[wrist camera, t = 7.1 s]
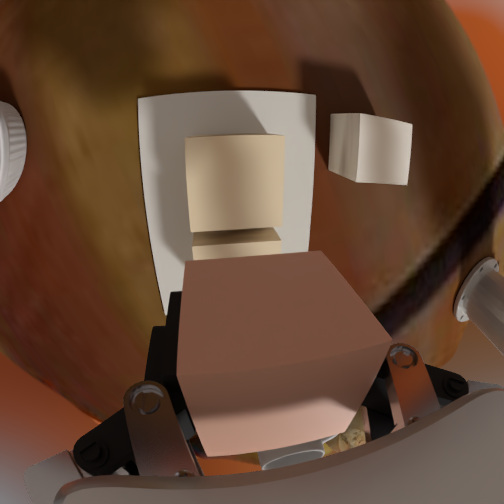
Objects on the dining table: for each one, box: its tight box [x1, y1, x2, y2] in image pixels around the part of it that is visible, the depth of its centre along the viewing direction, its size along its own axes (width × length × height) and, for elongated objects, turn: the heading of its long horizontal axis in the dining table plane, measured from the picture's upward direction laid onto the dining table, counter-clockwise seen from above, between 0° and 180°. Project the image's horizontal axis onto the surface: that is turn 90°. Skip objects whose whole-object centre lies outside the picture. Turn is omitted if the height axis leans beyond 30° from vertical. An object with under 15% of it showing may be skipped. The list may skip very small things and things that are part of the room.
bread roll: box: [326, 407, 366, 452], centre depth 40 cm, size 10×15×8 cm, turn 33°
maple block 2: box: [192, 227, 282, 260], centre depth 22 cm, size 6×6×5 cm
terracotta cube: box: [177, 251, 393, 456], centre depth 9 cm, size 5×5×5 cm
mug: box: [258, 434, 338, 470], centre depth 31 cm, size 12×8×11 cm
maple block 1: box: [184, 133, 285, 232], centre depth 18 cm, size 6×6×5 cm
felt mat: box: [138, 91, 316, 315], centre depth 22 cm, size 14×20×1 cm
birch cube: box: [328, 113, 412, 185], centre depth 19 cm, size 5×5×5 cm
